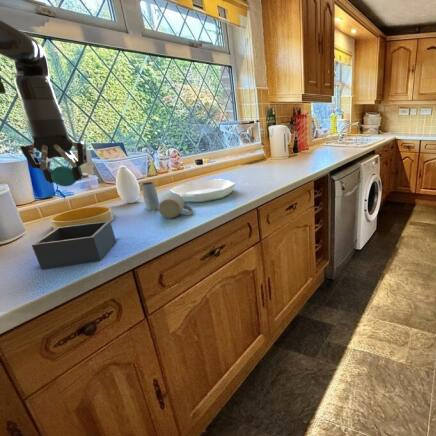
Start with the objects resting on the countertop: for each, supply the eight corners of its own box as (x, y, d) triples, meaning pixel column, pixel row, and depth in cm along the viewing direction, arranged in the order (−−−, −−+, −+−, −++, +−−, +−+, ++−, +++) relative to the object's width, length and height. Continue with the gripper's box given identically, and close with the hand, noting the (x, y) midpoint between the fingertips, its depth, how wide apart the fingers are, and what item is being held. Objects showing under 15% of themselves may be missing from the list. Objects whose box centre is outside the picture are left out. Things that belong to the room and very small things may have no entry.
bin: (41, 269, 73) (31, 245, 71) (65, 249, 84) (57, 227, 82) (100, 260, 76) (93, 237, 74) (116, 241, 87) (110, 221, 85)
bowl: (44, 237, 93) (39, 224, 92) (68, 220, 108) (64, 209, 106) (104, 229, 98) (101, 217, 96) (120, 214, 112) (117, 204, 111)
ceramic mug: (159, 220, 104) (154, 199, 101) (163, 213, 111) (159, 193, 108) (192, 217, 107) (188, 196, 104) (194, 210, 114) (191, 190, 111)
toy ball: (50, 189, 82) (43, 168, 80) (60, 185, 87) (53, 165, 85) (75, 187, 84) (68, 166, 82) (83, 183, 89) (77, 164, 87)
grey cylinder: (153, 211, 114) (146, 185, 111) (144, 210, 116) (137, 184, 112) (162, 207, 118) (156, 182, 115) (154, 207, 120) (148, 181, 116)
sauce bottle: (132, 199, 132) (121, 158, 126) (147, 200, 130) (136, 158, 124) (116, 204, 125) (104, 161, 119) (131, 205, 123) (119, 161, 117)
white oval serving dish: (214, 206, 118) (212, 195, 116) (155, 206, 121) (152, 195, 120) (245, 187, 146) (244, 178, 145) (197, 187, 150) (195, 178, 149)
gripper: (1, 119, 74) (27, 187, 79) (71, 117, 78) (91, 181, 84) (19, 119, 80) (41, 181, 86) (82, 117, 85) (100, 176, 90)
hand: (66, 181), depth 85 cm, fingers closed on toy ball, 5 cm apart
